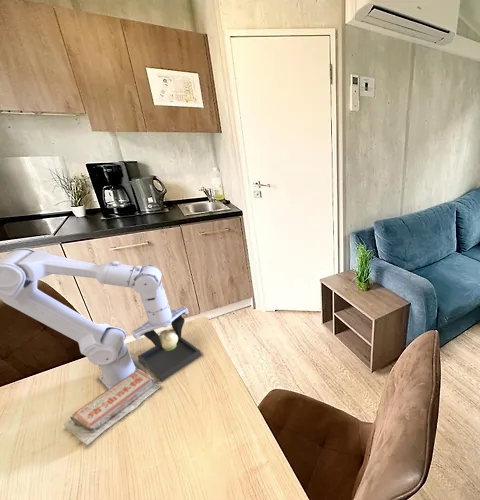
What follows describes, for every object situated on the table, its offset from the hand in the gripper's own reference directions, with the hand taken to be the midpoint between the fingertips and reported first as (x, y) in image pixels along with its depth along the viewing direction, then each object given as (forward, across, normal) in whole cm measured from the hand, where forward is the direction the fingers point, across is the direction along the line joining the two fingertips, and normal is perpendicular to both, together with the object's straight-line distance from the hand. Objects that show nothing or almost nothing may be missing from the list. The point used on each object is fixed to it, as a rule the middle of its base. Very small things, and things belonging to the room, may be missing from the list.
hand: (169, 343), depth 87 cm
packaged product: (+8, -17, -2) cm, 19 cm away
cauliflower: (+1, 0, 0) cm, 1 cm away
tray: (+8, 0, +4) cm, 9 cm away
